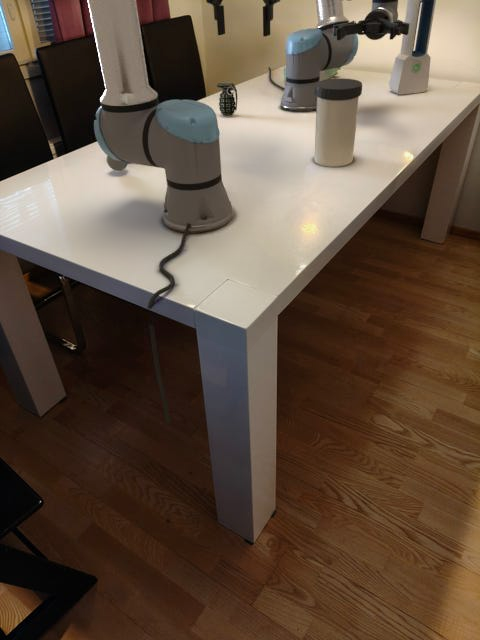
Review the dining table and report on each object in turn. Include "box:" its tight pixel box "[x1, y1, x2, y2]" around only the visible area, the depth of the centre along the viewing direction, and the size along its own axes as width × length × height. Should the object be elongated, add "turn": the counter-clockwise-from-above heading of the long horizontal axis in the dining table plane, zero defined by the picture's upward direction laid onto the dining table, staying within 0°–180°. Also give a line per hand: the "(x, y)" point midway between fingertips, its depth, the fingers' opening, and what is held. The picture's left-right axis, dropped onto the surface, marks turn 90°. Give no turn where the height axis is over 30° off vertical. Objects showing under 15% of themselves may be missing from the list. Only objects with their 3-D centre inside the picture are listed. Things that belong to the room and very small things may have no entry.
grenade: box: [215, 82, 238, 117], centre depth 166 cm, size 7×6×10 cm
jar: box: [313, 96, 360, 168], centre depth 126 cm, size 10×10×18 cm
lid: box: [315, 78, 363, 100], centre depth 120 cm, size 11×11×2 cm
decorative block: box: [283, 67, 342, 82], centre depth 206 cm, size 26×6×20 cm
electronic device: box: [388, 0, 437, 96], centre depth 174 cm, size 12×8×30 cm, turn 105°
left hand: (243, 35), depth 129 cm, fingers open, 13 cm apart
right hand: (364, 33), depth 126 cm, fingers open, 13 cm apart
